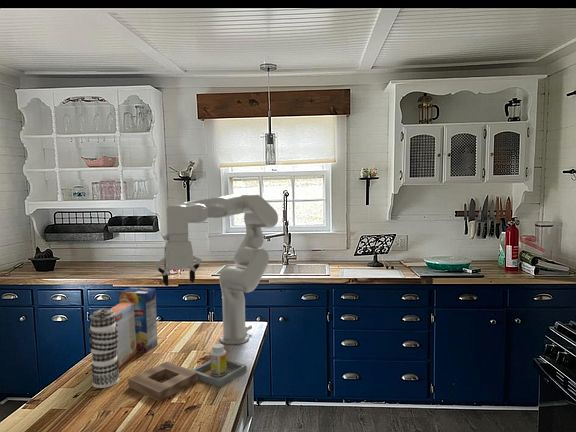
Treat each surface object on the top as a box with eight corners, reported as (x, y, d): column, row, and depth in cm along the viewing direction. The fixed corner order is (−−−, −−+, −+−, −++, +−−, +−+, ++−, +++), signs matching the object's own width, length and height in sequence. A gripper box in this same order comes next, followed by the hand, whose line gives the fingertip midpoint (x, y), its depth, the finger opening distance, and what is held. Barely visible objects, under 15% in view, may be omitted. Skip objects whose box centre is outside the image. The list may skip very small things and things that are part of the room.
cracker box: (123, 352, 168) (120, 301, 166) (137, 353, 167) (134, 302, 165) (103, 368, 154) (100, 312, 152) (118, 369, 153) (116, 313, 151)
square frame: (218, 361, 159) (218, 356, 158) (246, 371, 151) (246, 365, 150) (190, 376, 147) (190, 370, 147) (219, 387, 139) (219, 381, 139)
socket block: (167, 369, 153) (167, 361, 152) (198, 381, 144) (197, 372, 143) (128, 387, 140) (128, 378, 139) (159, 401, 130) (159, 392, 130)
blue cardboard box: (121, 349, 171) (118, 292, 169) (132, 342, 178) (129, 287, 176) (147, 352, 168) (145, 293, 166) (157, 344, 175) (155, 288, 173)
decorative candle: (92, 378, 146) (88, 308, 144) (120, 373, 150) (117, 305, 147) (90, 390, 138) (85, 316, 136) (120, 385, 141) (116, 313, 139)
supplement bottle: (227, 369, 152) (226, 342, 151) (226, 376, 146) (225, 348, 146) (211, 370, 151) (210, 343, 150) (210, 377, 146) (209, 349, 145)
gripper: (156, 241, 148) (158, 288, 149) (203, 237, 157) (204, 282, 158) (151, 238, 154) (153, 284, 156) (197, 235, 163) (198, 278, 164)
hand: (179, 283), depth 157 cm, fingers open, 9 cm apart
